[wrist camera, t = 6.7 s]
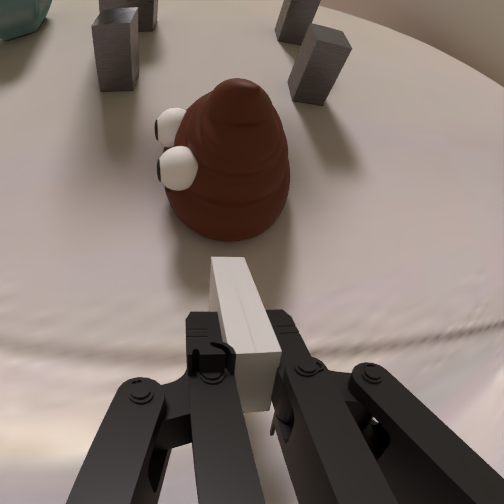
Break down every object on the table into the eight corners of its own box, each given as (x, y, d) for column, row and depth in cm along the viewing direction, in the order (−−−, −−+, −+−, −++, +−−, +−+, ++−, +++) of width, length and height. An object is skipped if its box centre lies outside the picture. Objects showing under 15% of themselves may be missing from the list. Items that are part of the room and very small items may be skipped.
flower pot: (45, 36, 25) (35, -24, 17) (-12, 54, 23) (-28, 0, 15) (62, 8, 28) (57, -44, 20) (10, 23, 26) (0, -25, 18)
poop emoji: (296, 239, 21) (363, 152, 13) (165, 255, 19) (155, 160, 11) (262, 127, 25) (296, 31, 16) (154, 132, 22) (153, 27, 14)
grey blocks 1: (302, 45, 31) (321, -3, 25) (126, 32, 27) (126, -21, 21) (298, 33, 32) (315, -12, 26) (132, 20, 28) (132, -29, 22)
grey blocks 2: (322, 105, 27) (352, 48, 21) (100, 91, 23) (91, 25, 17) (316, 86, 28) (342, 31, 22) (108, 72, 24) (102, 9, 18)
